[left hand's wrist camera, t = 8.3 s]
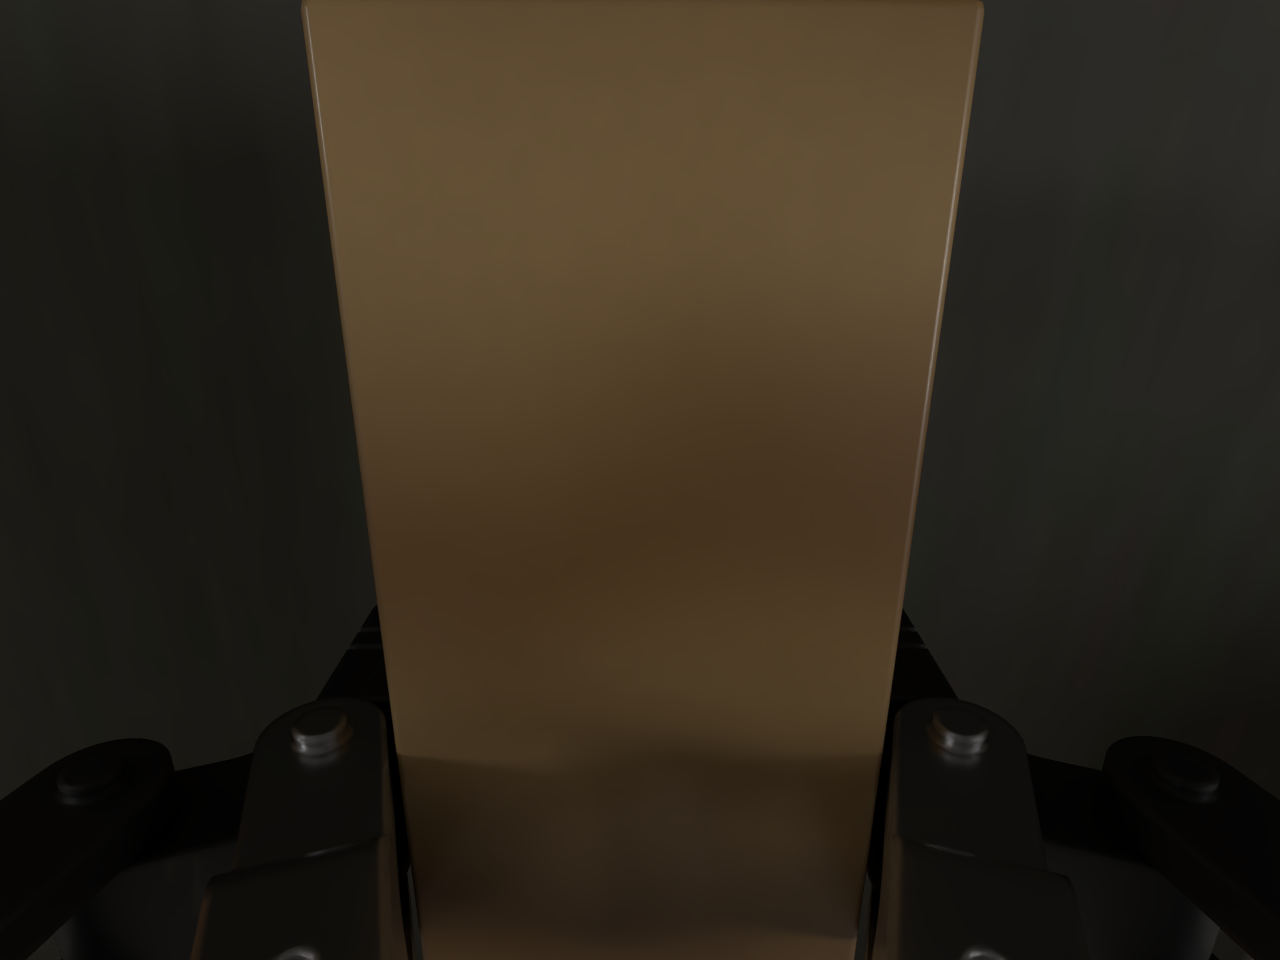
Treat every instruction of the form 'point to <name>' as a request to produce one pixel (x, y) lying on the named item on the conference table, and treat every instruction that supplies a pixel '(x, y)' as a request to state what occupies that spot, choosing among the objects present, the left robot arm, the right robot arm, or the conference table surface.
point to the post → (640, 443)
